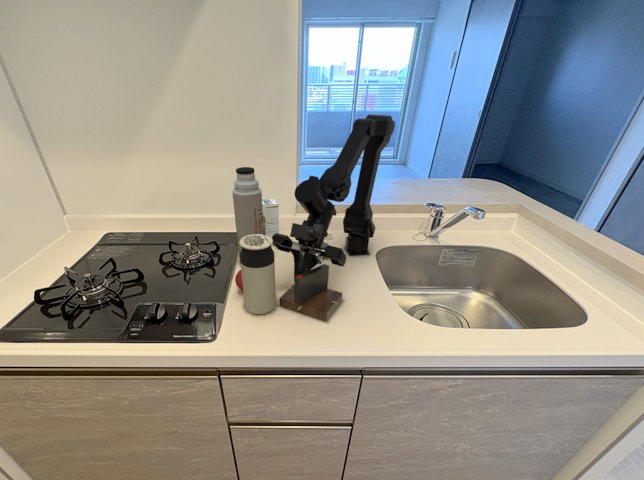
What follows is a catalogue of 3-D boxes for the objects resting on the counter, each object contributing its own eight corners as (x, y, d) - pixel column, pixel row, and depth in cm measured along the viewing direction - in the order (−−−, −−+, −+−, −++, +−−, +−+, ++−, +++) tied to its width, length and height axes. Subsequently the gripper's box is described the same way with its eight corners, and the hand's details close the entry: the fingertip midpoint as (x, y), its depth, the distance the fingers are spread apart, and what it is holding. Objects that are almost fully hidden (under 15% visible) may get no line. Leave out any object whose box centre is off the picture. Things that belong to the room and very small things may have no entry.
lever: (323, 287, 85) (324, 262, 81) (327, 289, 84) (329, 265, 80) (294, 301, 80) (294, 276, 76) (298, 304, 79) (299, 278, 74)
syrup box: (259, 240, 115) (257, 199, 106) (275, 238, 116) (274, 197, 108) (263, 247, 110) (261, 205, 102) (280, 244, 112) (279, 203, 103)
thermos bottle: (270, 260, 102) (266, 167, 86) (253, 270, 97) (245, 173, 81) (251, 253, 106) (244, 163, 90) (234, 263, 101) (223, 169, 85)
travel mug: (246, 316, 79) (239, 250, 68) (243, 298, 85) (237, 234, 75) (278, 312, 80) (276, 246, 70) (273, 295, 86) (270, 232, 76)
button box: (327, 247, 110) (328, 238, 108) (333, 258, 103) (334, 248, 101) (298, 249, 109) (298, 239, 107) (302, 260, 102) (302, 250, 100)
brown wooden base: (347, 297, 85) (348, 289, 84) (324, 327, 75) (325, 318, 74) (299, 283, 91) (299, 275, 90) (273, 309, 81) (272, 301, 80)
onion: (245, 283, 91) (243, 258, 87) (262, 289, 89) (260, 263, 84) (232, 293, 87) (229, 267, 82) (249, 299, 85) (247, 273, 80)
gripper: (272, 201, 76) (249, 261, 75) (347, 214, 69) (322, 282, 67) (289, 221, 87) (268, 275, 85) (355, 236, 79) (334, 295, 77)
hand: (295, 281), depth 78 cm, fingers closed
